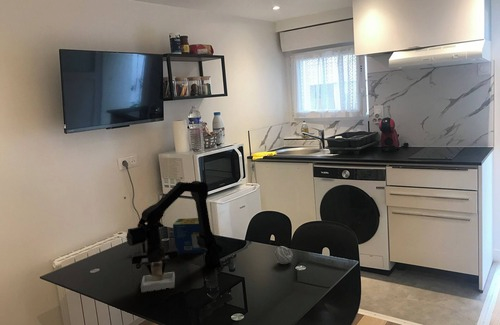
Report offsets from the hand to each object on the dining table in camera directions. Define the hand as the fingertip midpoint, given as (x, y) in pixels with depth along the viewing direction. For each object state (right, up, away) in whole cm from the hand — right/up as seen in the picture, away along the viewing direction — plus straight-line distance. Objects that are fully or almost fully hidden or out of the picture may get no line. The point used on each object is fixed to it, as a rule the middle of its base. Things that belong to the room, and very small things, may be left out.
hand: (157, 275), depth 178 cm
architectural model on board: (-15, 0, +47) cm, 50 cm away
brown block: (0, -1, 0) cm, 1 cm away
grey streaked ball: (+54, +2, +12) cm, 55 cm away
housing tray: (0, -4, +1) cm, 4 cm away
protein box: (+9, +2, +41) cm, 42 cm away
